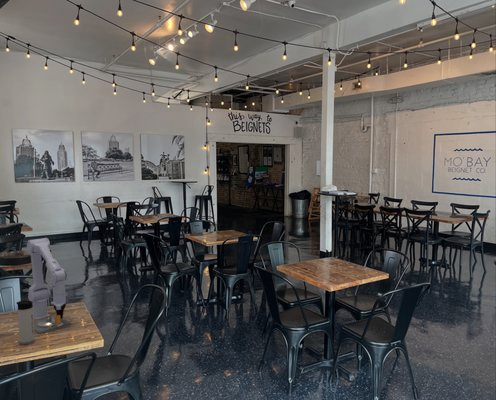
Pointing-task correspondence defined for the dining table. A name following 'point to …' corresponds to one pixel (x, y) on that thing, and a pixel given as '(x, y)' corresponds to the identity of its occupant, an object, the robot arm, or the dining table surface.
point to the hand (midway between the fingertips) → (60, 318)
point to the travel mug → (25, 322)
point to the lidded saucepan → (50, 321)
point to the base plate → (50, 327)
